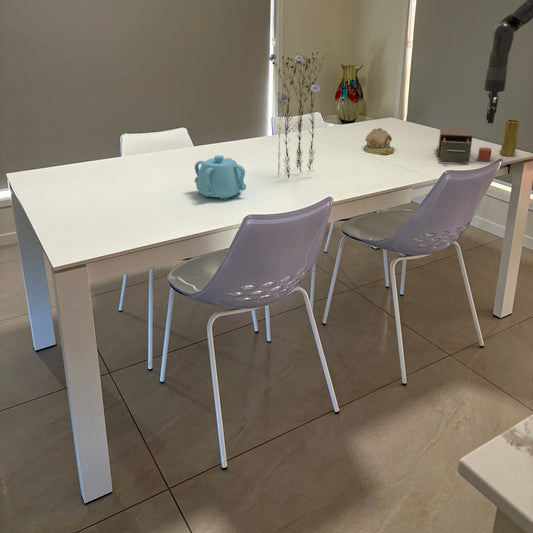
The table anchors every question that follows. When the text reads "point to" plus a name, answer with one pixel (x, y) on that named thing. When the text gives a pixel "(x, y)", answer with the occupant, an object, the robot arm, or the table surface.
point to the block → (484, 154)
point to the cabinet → (453, 134)
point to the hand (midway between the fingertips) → (489, 121)
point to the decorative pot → (219, 177)
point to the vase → (510, 138)
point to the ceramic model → (378, 142)
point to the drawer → (455, 149)
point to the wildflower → (315, 89)
